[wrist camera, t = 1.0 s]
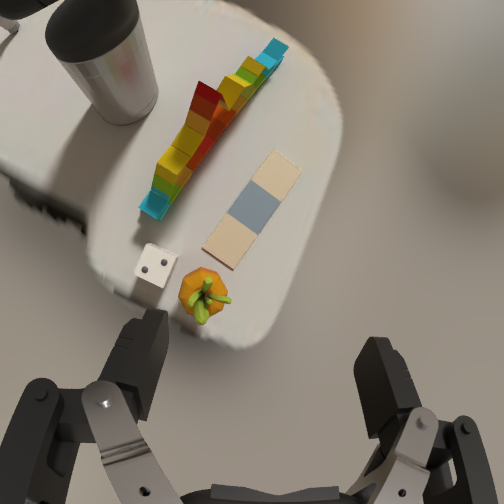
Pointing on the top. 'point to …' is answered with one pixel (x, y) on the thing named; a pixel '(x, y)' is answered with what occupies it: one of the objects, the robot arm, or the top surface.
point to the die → (156, 265)
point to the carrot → (203, 294)
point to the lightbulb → (9, 24)
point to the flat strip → (252, 209)
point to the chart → (207, 126)
